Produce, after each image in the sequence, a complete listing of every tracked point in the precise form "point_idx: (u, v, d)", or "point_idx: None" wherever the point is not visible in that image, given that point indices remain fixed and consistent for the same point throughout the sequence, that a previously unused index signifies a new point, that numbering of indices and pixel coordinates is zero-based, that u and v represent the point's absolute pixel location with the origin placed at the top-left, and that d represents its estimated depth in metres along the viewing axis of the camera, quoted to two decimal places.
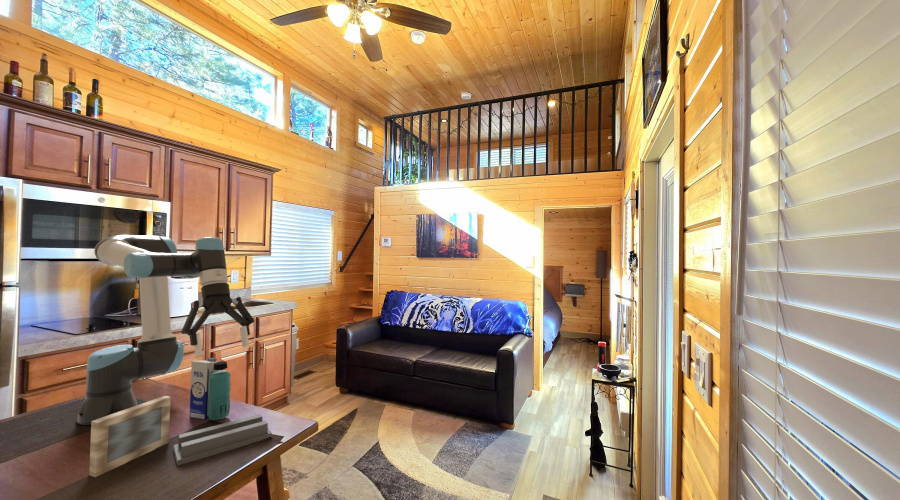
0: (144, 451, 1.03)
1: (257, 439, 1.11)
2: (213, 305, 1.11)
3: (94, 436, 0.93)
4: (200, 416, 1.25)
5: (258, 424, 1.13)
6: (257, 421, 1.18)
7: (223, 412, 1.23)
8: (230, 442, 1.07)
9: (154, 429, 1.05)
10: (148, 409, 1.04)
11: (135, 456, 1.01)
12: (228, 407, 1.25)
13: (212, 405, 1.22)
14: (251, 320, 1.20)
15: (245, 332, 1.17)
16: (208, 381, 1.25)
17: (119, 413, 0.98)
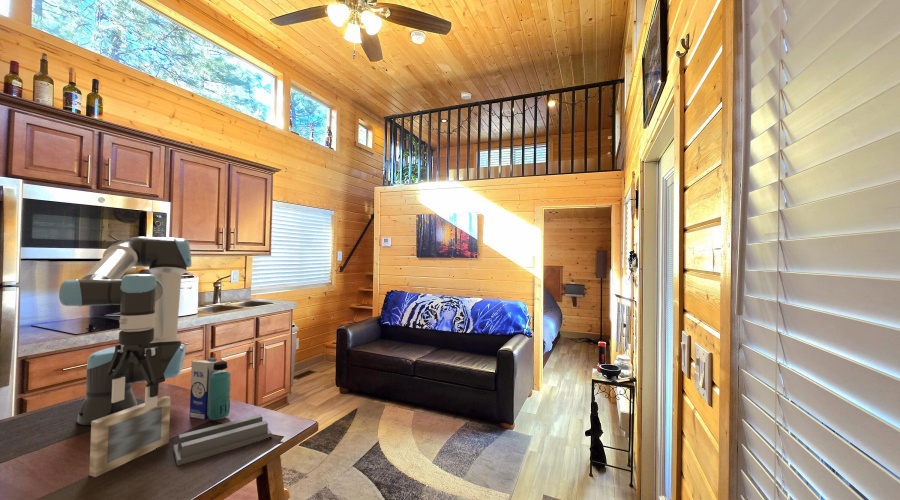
0: (144, 451, 1.03)
1: (257, 439, 1.11)
2: (123, 354, 1.00)
3: (94, 436, 0.93)
4: (200, 416, 1.25)
5: (258, 424, 1.13)
6: (257, 421, 1.18)
7: (223, 412, 1.23)
8: (230, 442, 1.07)
9: (154, 429, 1.05)
10: None
11: (135, 456, 1.01)
12: (228, 407, 1.25)
13: (212, 405, 1.22)
14: (153, 381, 0.97)
15: (146, 393, 0.98)
16: (208, 381, 1.25)
17: (119, 413, 0.98)
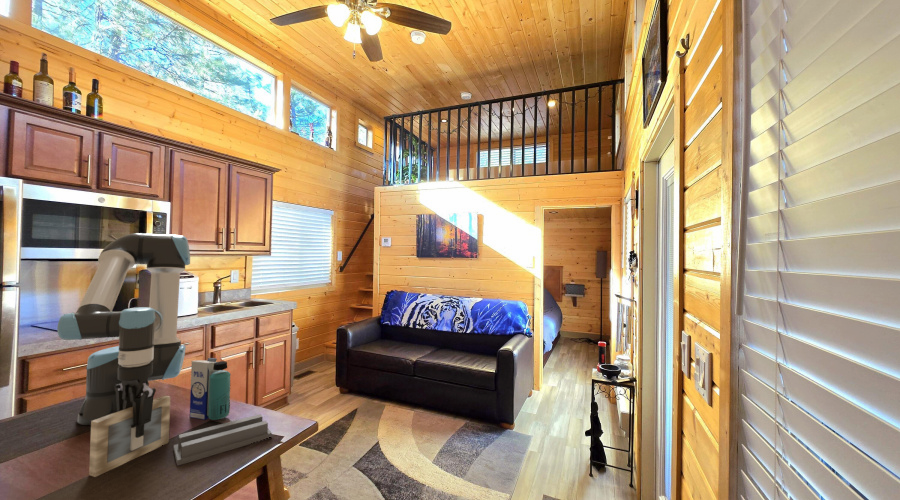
0: (144, 451, 1.03)
1: (257, 439, 1.11)
2: (123, 390, 1.00)
3: (94, 436, 0.93)
4: (200, 416, 1.25)
5: (258, 424, 1.13)
6: (257, 421, 1.18)
7: (223, 412, 1.23)
8: (230, 442, 1.07)
9: (153, 428, 1.05)
10: None
11: (135, 456, 1.01)
12: (228, 407, 1.25)
13: (212, 405, 1.22)
14: (139, 422, 0.99)
15: (131, 434, 1.00)
16: (208, 381, 1.25)
17: (119, 413, 0.98)
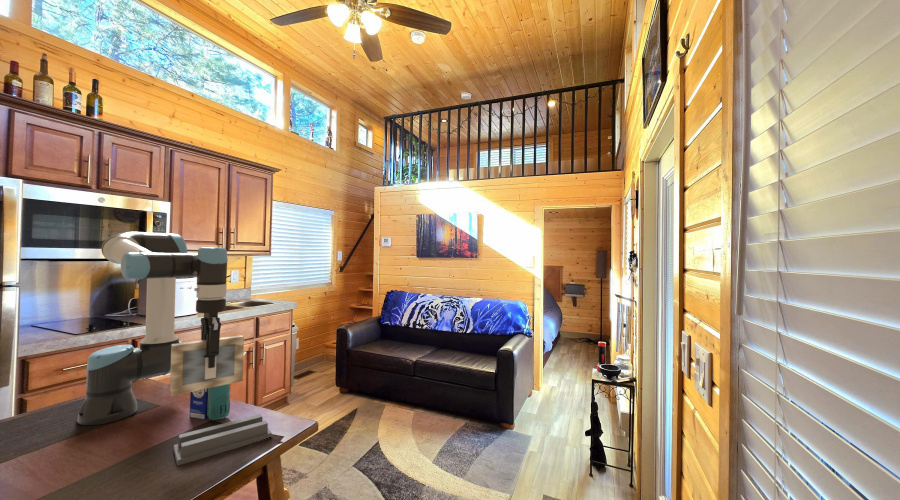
0: (218, 383, 1.09)
1: (257, 439, 1.11)
2: (202, 322, 1.08)
3: (171, 358, 1.01)
4: (200, 416, 1.25)
5: (258, 424, 1.13)
6: (257, 421, 1.18)
7: (223, 412, 1.23)
8: (230, 442, 1.07)
9: (227, 363, 1.10)
10: (221, 344, 1.09)
11: (209, 386, 1.07)
12: (228, 407, 1.25)
13: (212, 405, 1.22)
14: (208, 352, 1.04)
15: None
16: None
17: (195, 342, 1.05)
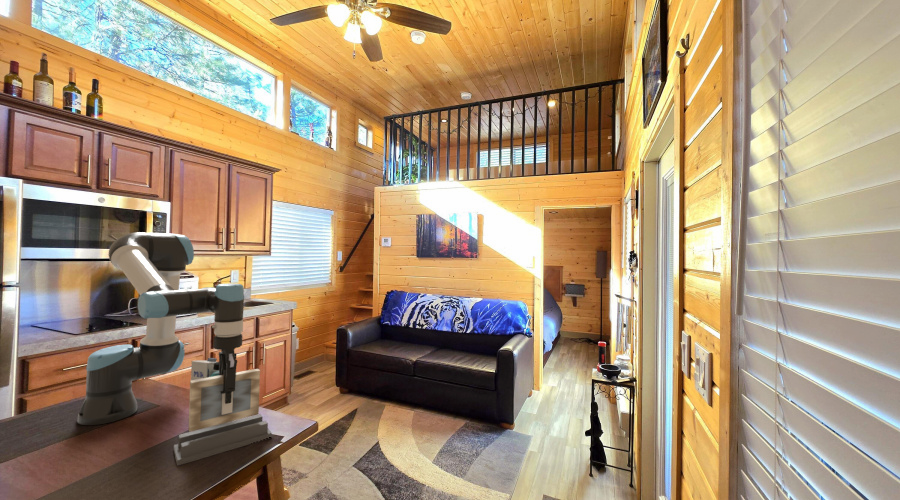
0: (234, 417, 1.11)
1: (257, 439, 1.11)
2: (219, 358, 1.10)
3: (190, 394, 1.04)
4: None
5: (258, 424, 1.13)
6: (257, 421, 1.18)
7: None
8: (230, 442, 1.07)
9: (243, 398, 1.12)
10: (238, 379, 1.11)
11: (226, 420, 1.09)
12: None
13: None
14: (225, 389, 1.06)
15: None
16: None
17: (212, 378, 1.07)
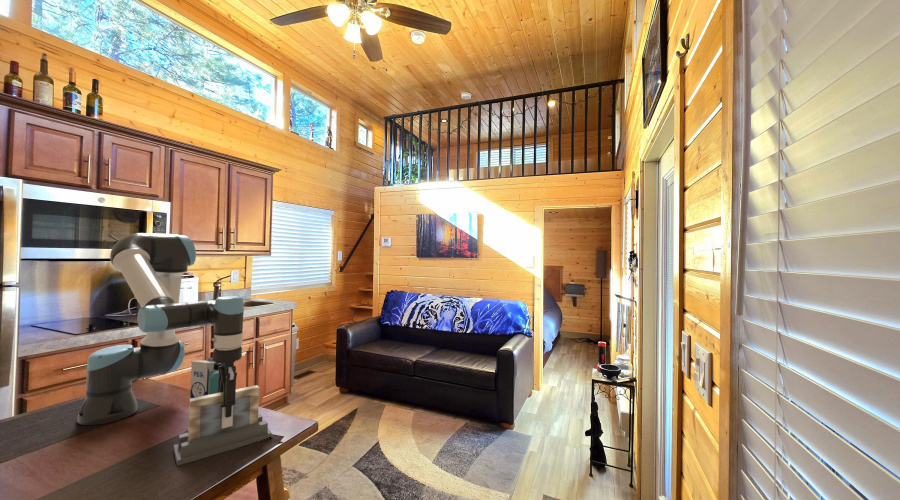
0: None
1: (257, 439, 1.11)
2: (218, 370, 1.10)
3: (189, 413, 1.04)
4: None
5: (258, 424, 1.13)
6: None
7: None
8: (230, 442, 1.07)
9: (242, 415, 1.12)
10: (237, 396, 1.11)
11: None
12: None
13: None
14: (225, 403, 1.05)
15: None
16: (208, 381, 1.25)
17: (212, 396, 1.07)
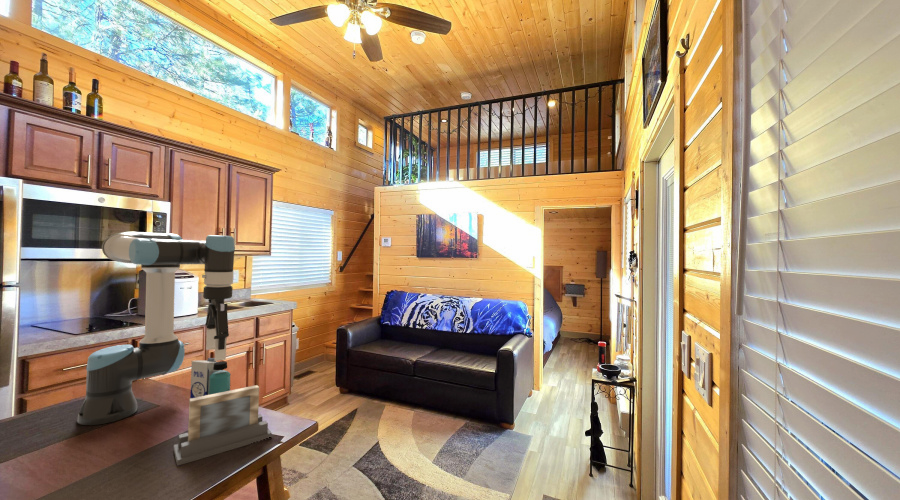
0: None
1: (257, 439, 1.11)
2: (209, 307, 1.11)
3: (189, 413, 1.04)
4: None
5: (258, 424, 1.13)
6: None
7: None
8: (230, 442, 1.07)
9: (242, 415, 1.12)
10: (237, 396, 1.11)
11: None
12: None
13: None
14: (218, 334, 1.03)
15: None
16: (208, 381, 1.25)
17: (212, 396, 1.07)
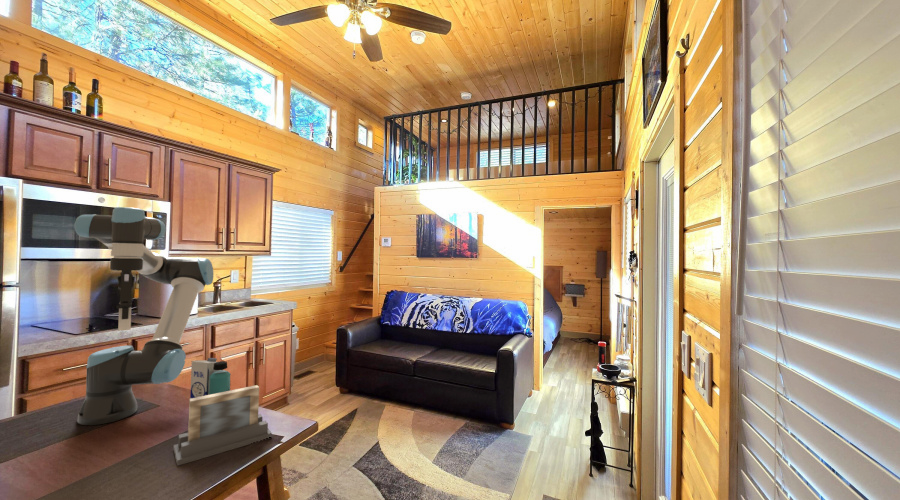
0: None
1: (257, 439, 1.11)
2: None
3: (189, 413, 1.04)
4: None
5: (258, 424, 1.13)
6: None
7: None
8: (230, 442, 1.07)
9: (242, 415, 1.12)
10: (237, 396, 1.11)
11: None
12: None
13: None
14: None
15: None
16: (208, 381, 1.25)
17: (212, 396, 1.07)
